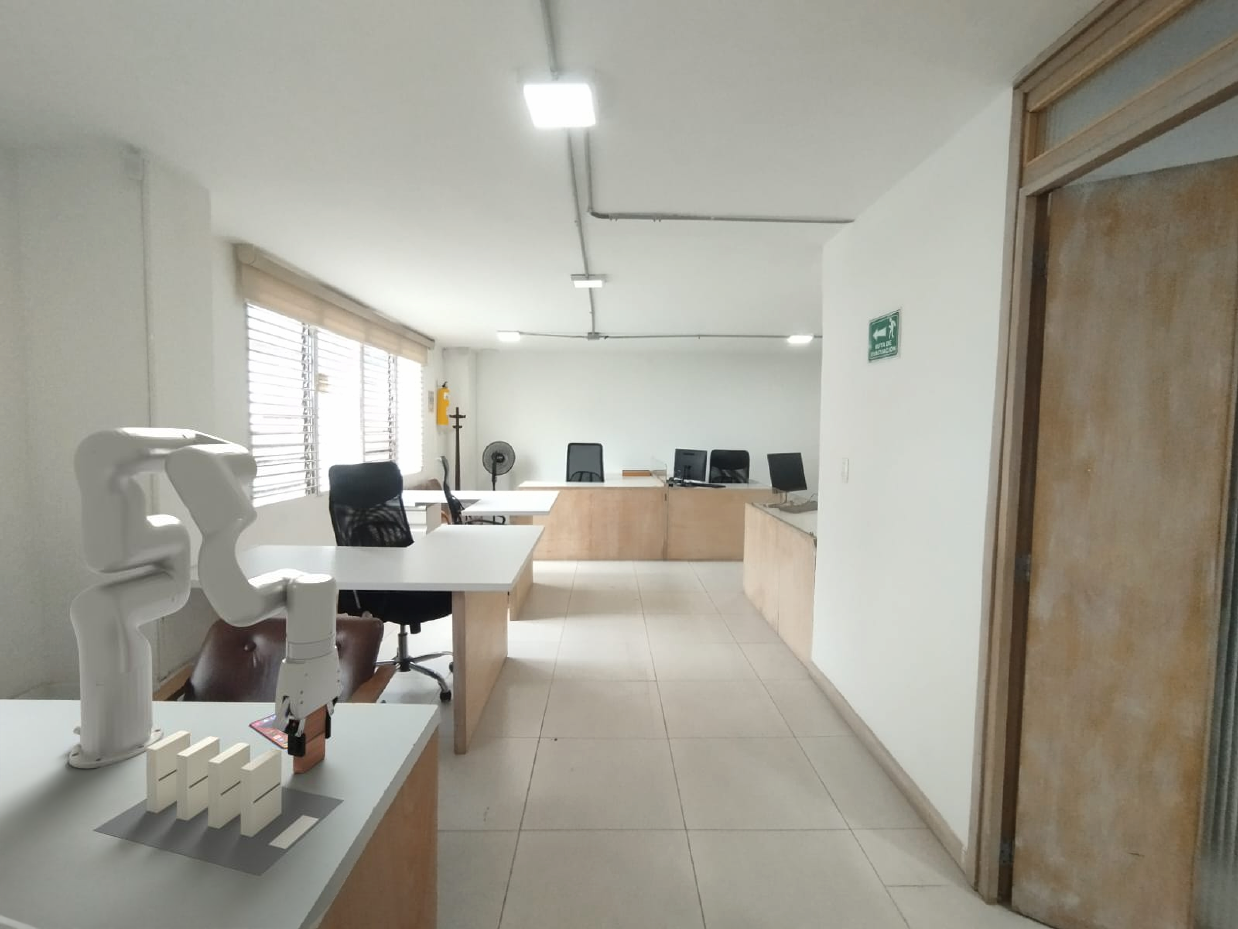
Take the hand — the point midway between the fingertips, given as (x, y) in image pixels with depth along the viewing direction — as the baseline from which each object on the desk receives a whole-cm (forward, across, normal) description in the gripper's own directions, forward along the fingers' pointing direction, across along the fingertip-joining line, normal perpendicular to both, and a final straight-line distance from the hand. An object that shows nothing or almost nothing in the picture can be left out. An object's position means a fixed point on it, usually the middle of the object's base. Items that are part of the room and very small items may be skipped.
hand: (309, 745), depth 92 cm
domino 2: (+4, +13, -8) cm, 16 cm away
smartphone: (+5, -8, -14) cm, 17 cm away
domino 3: (+4, +13, -2) cm, 14 cm away
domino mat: (+4, +13, -3) cm, 14 cm away
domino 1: (+4, +13, -14) cm, 19 cm away
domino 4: (+4, +13, +4) cm, 15 cm away
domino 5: (+4, 0, 0) cm, 4 cm away
